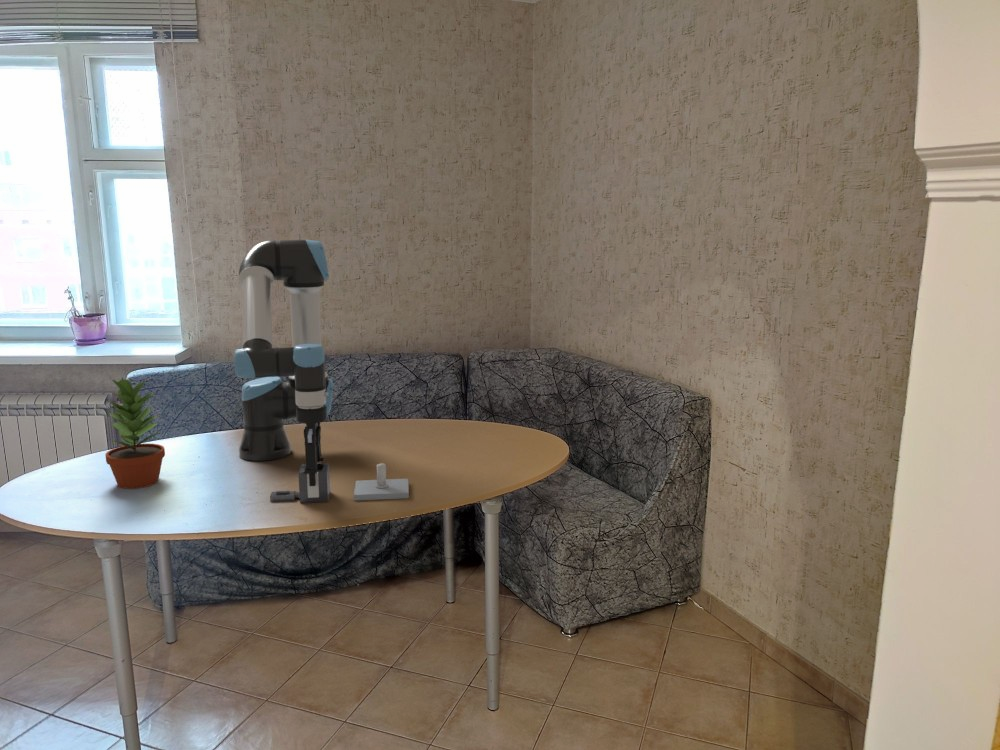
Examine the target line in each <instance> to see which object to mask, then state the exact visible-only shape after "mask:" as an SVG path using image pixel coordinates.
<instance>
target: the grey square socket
mask: <svg viewBox="0 0 1000 750" xmlns="http://www.w3.org/2000/svg"><path fill="white" fill-rule="evenodd" d="M311 469H313V468H311ZM317 470H318V481H319V497H314V498H308V487H307V474H304V471H306V463H301V465H300V467H299V471H298V489H299V491H298V492H297V491H296V490H276V491H271V493H270V494H269V501H270V502H286V501H287V502H288V501H291V502H292V501H296V498H299V503H300V504H303V503H304V504H305V503H306V504H307V503H327V502H329V498H330V495H331V476H330V475H331V474H330V462H323V463H322V462H321V463H319V464H317Z"/></svg>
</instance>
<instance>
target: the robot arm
mask: <svg viewBox="0 0 1000 750" xmlns="http://www.w3.org/2000/svg"><path fill="white" fill-rule="evenodd" d="M329 277H330V275H329V268H328V263H327V255H326V251H325V247H324V244H323V243H322V241H319V240H312V239H288V240H287V239H285V240H284V239H282V240H281V239H280V240H277V239H276V240H275V239H270V240H268V239H267V240H263V241H261V242H259V243H257V244H255V245H253V247H251V248H250V250H249V251H247V253H246V255H245V256H244V257H243V259H242V260H241V263H240V265H239V269H238V282H239V283H240V286H241V287H242V348H237V349H235V350H234V352H233V353H234V354H233V362H234V363H233V364H234V365H233V366H234V374H235V376H236V377H237V378H240V379H242V378H243V379H251V380H249V381H246V383H244V384H243V385H242V387H241V399H240V400H241V401H242V413H243V414H242V419H243V420H242V421H243V434H242V436H241V440H240V444H239V448H238V454H239V455H238V456H239V458H240V459H242V460H246V461H253V462H265V461H273V460H278V459H283V458H284V457H287V456H290V454H291V451H292V450H291V449H292V448H291V447H292V446H291V442H290V440H289V438H288V435H287V433H286V430H285V427H284V426H285V425H284V421H288V420H296V422H298V423H300V424H305V427H304V429H303V439H304V449H305V452H304V453H305V456H304V457H305V464H306V471H304V474H307V487H308V498H314V497H319V481H318V470H317V464H319V463H322V462H323V463H324V461H325V458H324V457H322V456H323V454H322V448H321V446H322V444H321V439H322V438H321V437H322V436H321V432H322V426H321V423H323V422H326V421H327V419H328V416H329V415H330V413H331V410H332V403H333V394H334V393H333V392H334V390H333V387H334V382H333V380H332V379H331V378H329V377H328V376H329V374H328V372H327V371H326V362H325V361H326V357H325V348H324V346H323V345H322V325H321V323H322V321H321V304H320V303H321V302H320V292H321V290H322V289H324V287H325V281H328V280H329V279H330V278H329ZM275 281H283V287H284V288H285V289H286V290H287V291H288V292H289V303H290V304H289V306H290V324H291V325H290V328H291V344H292V345H291V346H290V347H289V346H287V347H285V346H284V347H273V322H272V321H273V319H272V317H273V316H272V314H273V313H272V286H273V285H274V283H275ZM282 377H288V381H283V380H282ZM311 468H313V469H311Z"/></svg>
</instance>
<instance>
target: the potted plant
mask: <svg viewBox="0 0 1000 750" xmlns="http://www.w3.org/2000/svg"><path fill="white" fill-rule="evenodd" d="M109 379H111V381H112V382H113V383H114V384H115V385H116V386H117V388H119V389H118V390H117V393H115V397H117V398H118V399H120V402H121V404H122V405H120V404H119V403H116V402H113V401H107V400H106V402H107V403H109V404H110V405H111V406H113V407H115V408H112V407H111V409H112V411H114V412H116V413H110V412H108V411H107V414H108V415H109V416H110V417H111V418H112V419H114V420H116V421H117V422H115V421H112V423H113V424H112V426H113V427H114V428H115V429H116V430H118V434H119V435H118V436H119V437H121V438H122V439H123V440H124V441H121V440H115V439H110V438H109V440H110V441H113V442H115V443H117V444H119V445H122V446H119V447H115V448H112V449H110V450H108V451H106V453H105V461H106V464H107V465H109V467H110V469H111V472H112V474H113V477H114V479H115V482H116V485H117V486H118V487H119V488H121V489H127V488H128V490H129V489H131V490H133V489H141V488H145V487H146V488H147V487H150V486H152V484H153V485H155V484H157V483H158V482H157V481H159V479H160V473H161V468H162V464H163V463H162V462H163V459H164V457H165V456H166V452H165V447H164V446H163V445H161V444H158V443H157V444H156V443H145V442H146V441H148V440H150V439H151V438H153V437H155V436H156V435H159V432H155V433H152V434H151V435H149V436H147V437H146V438H143V440H140V437H142V436H143V435H144V434H146V433H147V432H149V431H151V430H152V429H153V428H154V427H156V426H157V425H158V422H156V423H151V422H153V421H155V419H157V418H158V417H159V416H160V414H158V415H156V416H149V414H150V412H152V410H151V408H152V407H149V406H150V405H151V404H152V402H153V401H154V399H152V401H151V402H149V403H148V404H146V405H147V406H145V408H144V409H143V410H142V408H143V405H144V404H145V402H147V401H148V400H149V399H150V398H151V397H152V396H153V395H155V394H156V393H157V391H155V392H154V393H149V394H147V395H144V396H143V397H142V395H139V394H138V393H139V392H140V391H141V389H142V388H143V386H144V385H145V383H146V381H147V380H148V378H147V379H145V380H144V381H143V382H140V383H139V384H136V385H135V387H134V388H133V384H132V383H131V381H130V380H128V379H124V377H122V376H121V379H120V380H118V381H116V380H115V379H112V377H109Z"/></svg>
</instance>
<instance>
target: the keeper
mask: <svg viewBox="0 0 1000 750" xmlns="http://www.w3.org/2000/svg"><path fill="white" fill-rule="evenodd" d="M409 491H410V490H409V478H391V479H387V463H383V462H382V463H381V462H380V463H378V464H376V479H369V480H367V479H366V480H365V479H364V480H363V479H362V480H355V485H354V490H353V501H373V500H394V499H395V500H397V499H398V500H399V499H410V494H409V493H410V492H409Z"/></svg>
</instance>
